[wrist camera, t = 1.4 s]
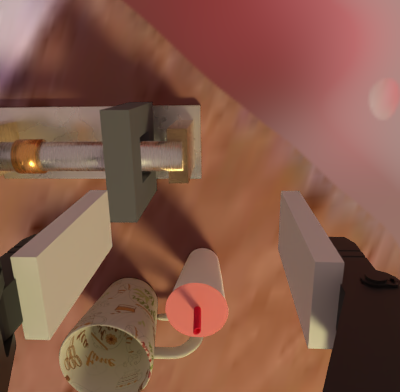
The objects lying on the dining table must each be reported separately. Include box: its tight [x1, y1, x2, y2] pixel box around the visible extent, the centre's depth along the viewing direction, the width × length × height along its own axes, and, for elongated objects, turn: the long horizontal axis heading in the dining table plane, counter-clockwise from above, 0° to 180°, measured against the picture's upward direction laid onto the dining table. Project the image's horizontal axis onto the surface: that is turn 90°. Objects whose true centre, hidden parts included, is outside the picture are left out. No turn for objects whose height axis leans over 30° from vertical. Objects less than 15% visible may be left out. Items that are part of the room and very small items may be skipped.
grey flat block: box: [100, 102, 157, 222], centre depth 30 cm, size 2×8×8 cm, turn 1°
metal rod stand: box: [0, 105, 202, 183], centre depth 34 cm, size 20×7×8 cm, turn 91°
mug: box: [59, 278, 203, 392], centre depth 38 cm, size 8×13×10 cm, turn 90°
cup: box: [166, 248, 228, 337], centre depth 35 cm, size 5×5×12 cm
